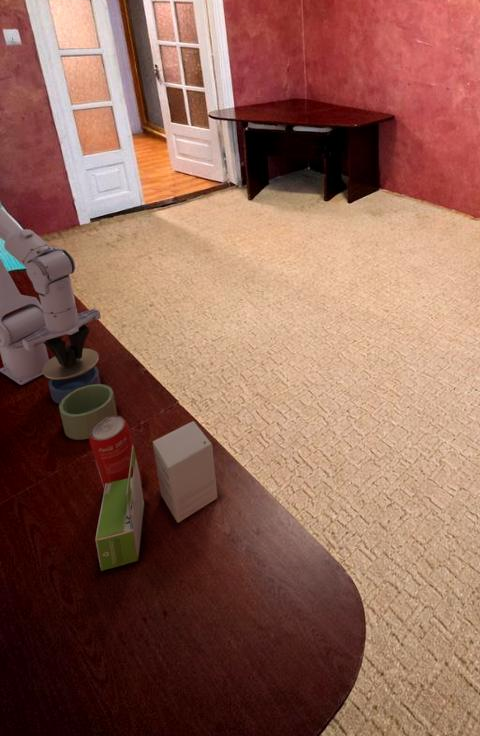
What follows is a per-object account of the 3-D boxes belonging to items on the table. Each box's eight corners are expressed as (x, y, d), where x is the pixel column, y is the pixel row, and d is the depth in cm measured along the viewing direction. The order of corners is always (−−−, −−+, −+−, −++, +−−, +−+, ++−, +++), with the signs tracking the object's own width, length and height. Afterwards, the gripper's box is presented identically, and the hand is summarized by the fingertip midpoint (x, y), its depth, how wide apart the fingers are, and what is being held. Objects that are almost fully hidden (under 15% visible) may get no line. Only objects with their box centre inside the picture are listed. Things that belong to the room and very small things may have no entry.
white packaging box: (200, 472, 90) (195, 418, 86) (218, 498, 85) (213, 443, 81) (159, 495, 85) (151, 440, 81) (176, 525, 80) (168, 468, 76)
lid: (33, 371, 103) (28, 353, 102) (81, 347, 112) (78, 330, 110) (60, 388, 99) (56, 369, 98) (109, 362, 108) (105, 344, 106)
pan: (42, 394, 106) (39, 381, 105) (85, 371, 114) (82, 359, 112) (67, 410, 102) (64, 397, 101) (109, 385, 110) (107, 372, 108)
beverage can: (149, 477, 88) (139, 412, 83) (127, 509, 82) (114, 441, 77) (118, 472, 89) (106, 408, 83) (94, 504, 83) (79, 437, 77)
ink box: (110, 513, 81) (98, 449, 77) (145, 503, 83) (135, 441, 78) (100, 573, 72) (85, 505, 68) (140, 561, 74) (128, 494, 70)
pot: (54, 427, 97) (49, 404, 95) (99, 400, 105) (95, 378, 103) (82, 446, 94) (76, 422, 92) (126, 417, 101) (122, 394, 99)
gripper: (31, 329, 93) (44, 386, 97) (105, 297, 105) (114, 349, 109) (11, 317, 96) (25, 374, 100) (85, 288, 108) (95, 339, 112)
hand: (70, 360), depth 105 cm, fingers closed on lid, 2 cm apart
